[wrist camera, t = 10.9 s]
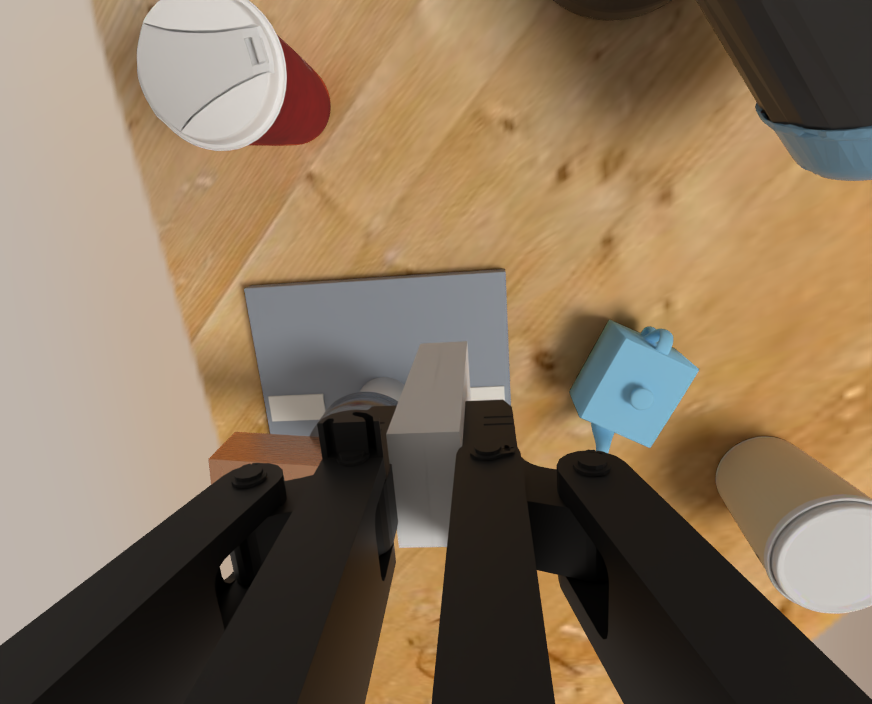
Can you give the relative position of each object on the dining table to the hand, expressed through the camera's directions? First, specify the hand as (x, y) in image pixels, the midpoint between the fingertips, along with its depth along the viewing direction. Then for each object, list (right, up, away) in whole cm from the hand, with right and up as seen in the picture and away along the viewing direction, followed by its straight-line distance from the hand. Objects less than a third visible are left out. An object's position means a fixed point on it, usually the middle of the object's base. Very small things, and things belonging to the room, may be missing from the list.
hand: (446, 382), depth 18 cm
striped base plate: (-5, -3, +32) cm, 33 cm away
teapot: (+15, -1, +30) cm, 34 cm away
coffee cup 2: (+29, -10, +32) cm, 44 cm away
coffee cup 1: (-12, +21, +26) cm, 35 cm away
